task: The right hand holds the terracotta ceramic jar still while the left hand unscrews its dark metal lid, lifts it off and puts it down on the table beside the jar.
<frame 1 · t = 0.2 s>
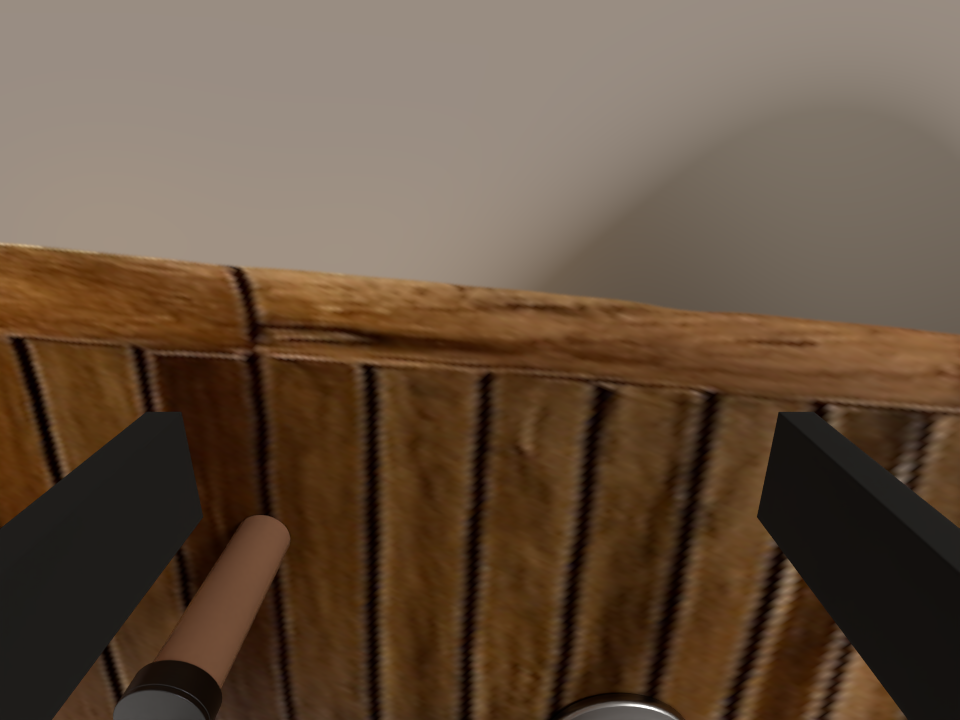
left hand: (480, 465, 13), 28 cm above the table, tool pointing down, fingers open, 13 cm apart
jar: (263, 536, 47), on the table
lid: (163, 718, 32), point 16 cm above the table, screwed on, not yet turned
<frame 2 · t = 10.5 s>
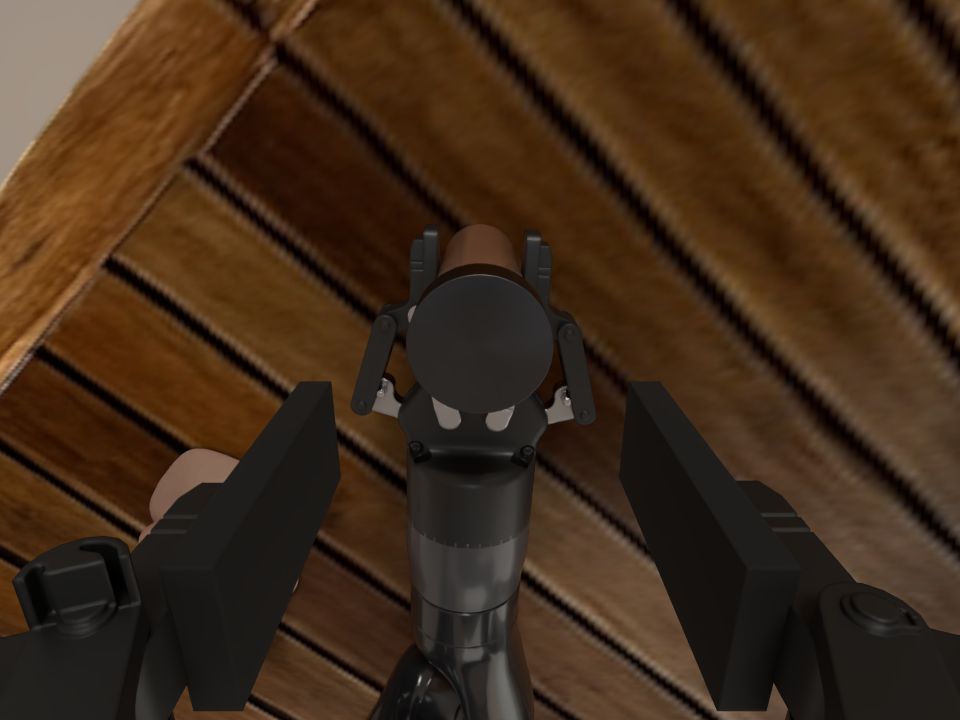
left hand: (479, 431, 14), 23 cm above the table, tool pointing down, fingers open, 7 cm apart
right hand: (481, 230, 29), fingers closed on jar, 4 cm apart
anatomical model: (229, 528, 43), on the table
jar: (479, 260, 35), on the table, touching right hand
lid: (479, 344, 20), point 16 cm above the table, screwed on, not yet turned
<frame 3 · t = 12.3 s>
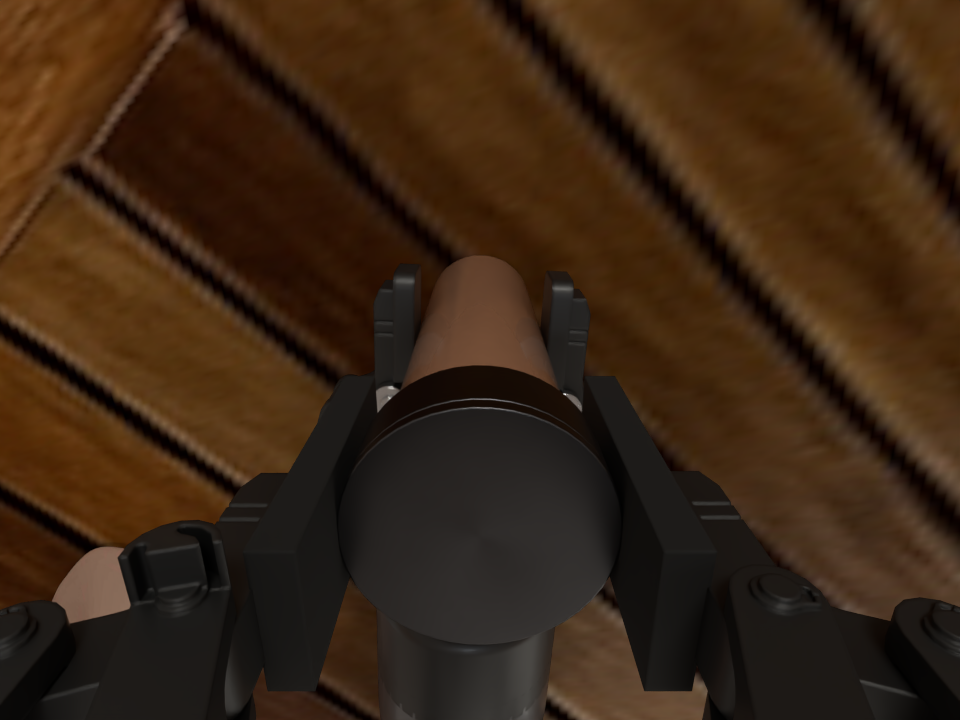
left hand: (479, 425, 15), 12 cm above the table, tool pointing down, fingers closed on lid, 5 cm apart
anatomical model: (155, 641, 33), on the table
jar: (480, 303, 26), on the table, touching right hand
lid: (479, 525, 11), point 16 cm above the table, screwed on, not yet turned, touching left hand
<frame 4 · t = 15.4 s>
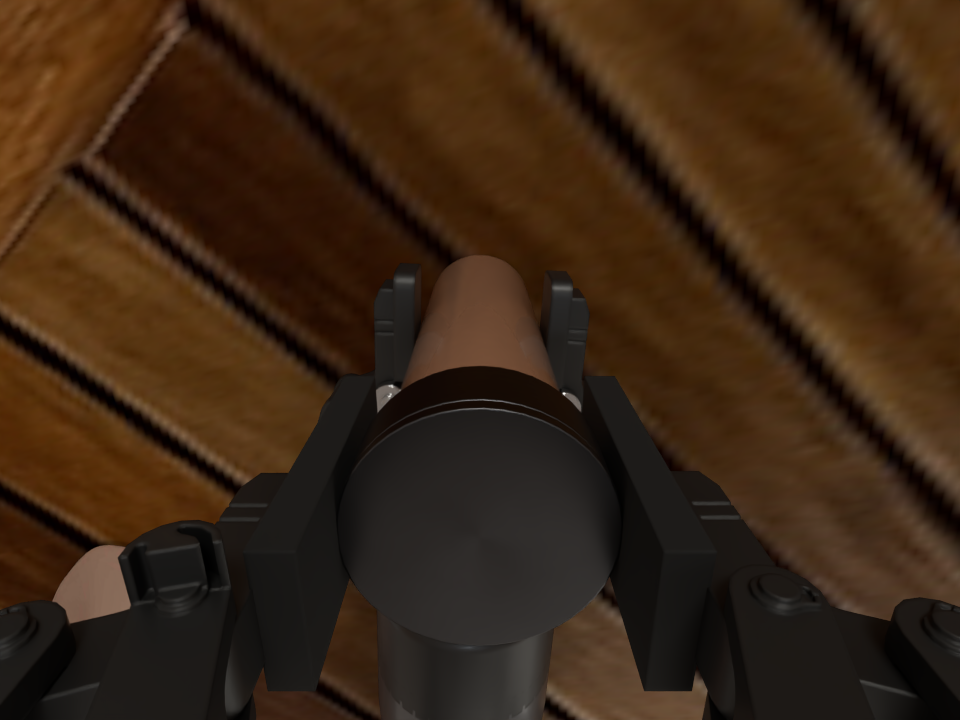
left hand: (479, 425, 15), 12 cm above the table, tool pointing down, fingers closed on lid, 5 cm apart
anatomical model: (156, 640, 33), on the table
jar: (479, 303, 26), on the table, touching right hand
lid: (479, 526, 11), point 16 cm above the table, turned 86° so far, risen 0.1 cm, still on its thread, touching left hand
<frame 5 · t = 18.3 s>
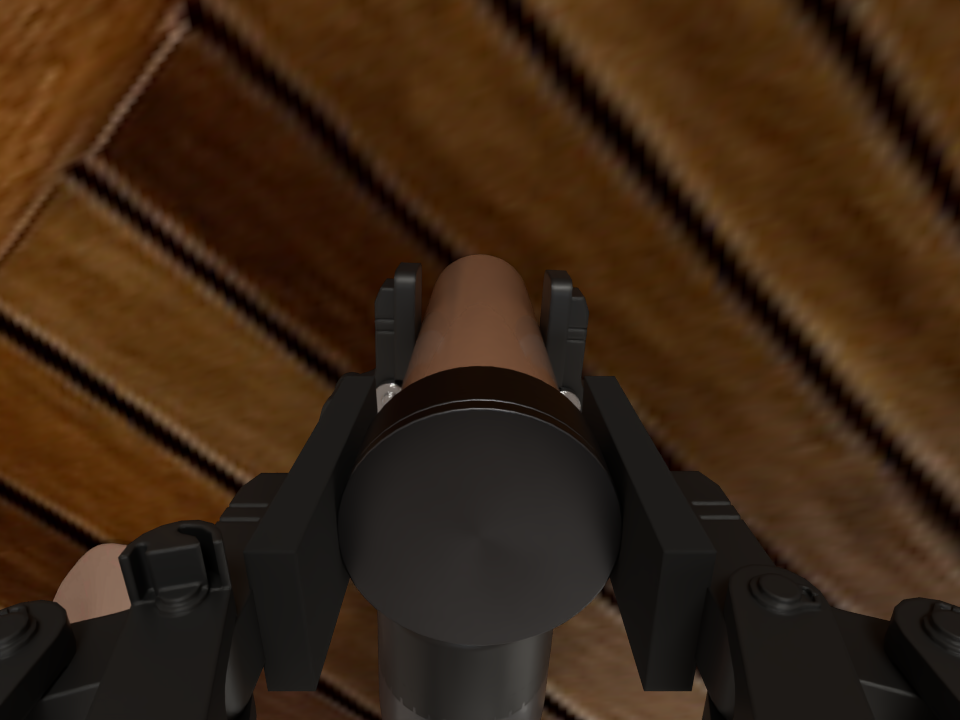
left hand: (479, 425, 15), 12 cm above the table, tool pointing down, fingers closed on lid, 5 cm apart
anatomical model: (157, 638, 33), on the table
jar: (479, 302, 26), on the table, touching right hand
lid: (479, 526, 11), point 16 cm above the table, turned 172° so far, risen 0.3 cm, still on its thread, touching left hand
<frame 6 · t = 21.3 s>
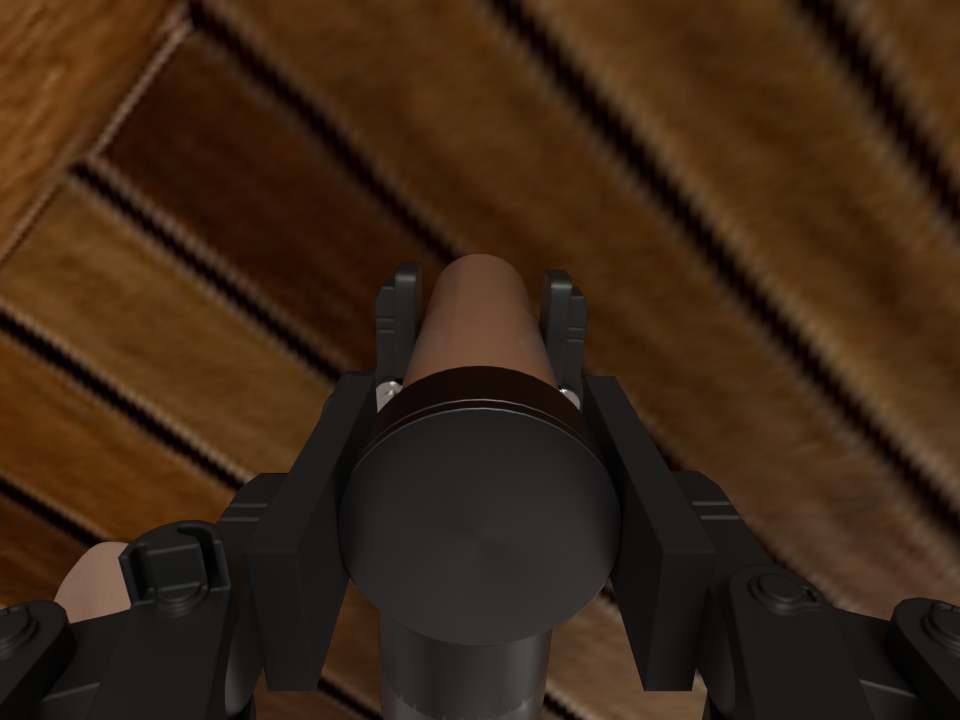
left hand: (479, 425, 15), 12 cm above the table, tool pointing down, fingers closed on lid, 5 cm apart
anatomical model: (158, 636, 33), on the table
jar: (479, 301, 26), on the table, touching right hand
lid: (479, 525, 11), point 16 cm above the table, turned 258° so far, risen 0.4 cm, still on its thread, touching left hand
when the left hand's fingers open (0 cm above the table, at t = 28.4 s): lid drops 3 cm, point 2 cm above the table.
when the right hand's fingers open (6 cm above the table, at t = 29.0 s): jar stays where it is, on the table.
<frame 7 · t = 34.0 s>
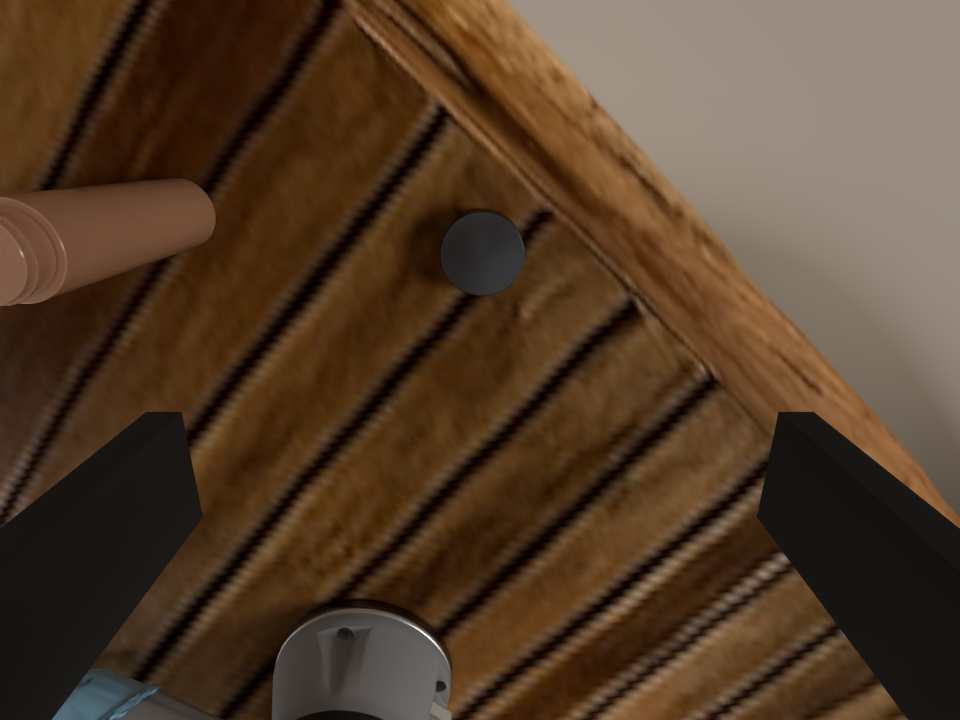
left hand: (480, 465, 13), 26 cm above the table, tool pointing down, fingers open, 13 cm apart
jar: (181, 213, 37), on the table
lid: (482, 254, 36), point 2 cm above the table, off its thread
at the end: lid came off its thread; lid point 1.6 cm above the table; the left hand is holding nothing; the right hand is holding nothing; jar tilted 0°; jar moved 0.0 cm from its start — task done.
